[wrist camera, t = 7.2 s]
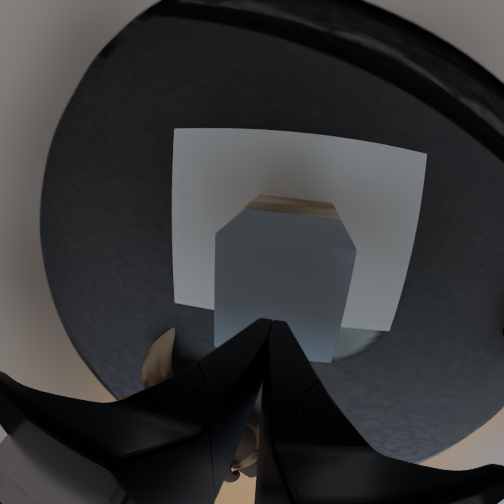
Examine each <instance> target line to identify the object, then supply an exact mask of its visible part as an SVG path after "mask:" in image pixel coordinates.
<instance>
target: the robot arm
mask: <svg viewBox="0 0 504 504" xmlns="http://www.w3.org/2000/svg"><path fill="white" fill-rule="evenodd" d="M503 335H504V331H503ZM262 381H263V384H262ZM261 385H262V397H261V414H260V431H259V447H258V462H257V476H256V491H255V504H497V503H499V502H500V501H501V500H503V499H504V466H502V465H496V464H489V465H485V466H482V467H479V468H475V469H470V470H463V471H453V470H452V471H451V470H442V469H437V468H432V467H427V466H422V465H418V464H414V463H409V462H405V461H401V460H397V459H394V458H390V457H387V456H384V455H382V454H380V453H378V452H377V451H375V450H374V449H373V448H372V447H371V446H370V445H369V444H368V443H367V442H366V441H365V439H364V438H363V437H362V436H361V435H360V433H359V432H358V431H357V430H356V429H355V427H354V426H353V425H352V424H351V423H350V421H349V420H348V419H347V418H346V417H345V415H344V414H343V413H342V412H341V410H340V409H339V408H338V406H337V405H336V404H335V402H334V401H333V399H332V398H331V396H330V395H329V393H328V392H327V390H326V388H325V387H324V385H323V383H322V382H321V380H320V378H319V377H318V375H317V373H316V371H315V370H314V368H313V366H312V365H311V363H310V361H309V360H308V358H307V356H306V354H305V353H304V351H303V349H302V348H301V346H300V344H299V342H298V341H297V339H296V337H295V336H294V334H293V332H292V330H291V329H290V327H289V325H288V324H287V322H286V321H282V320H273V323H272V320H271V319H267V318H259V319H257V320H256V321H254V322H253V323H252V324H250V325H249V326H247V327H246V328H245V329H243V330H242V331H240V332H239V333H237V334H236V335H235V336H233V337H232V338H230V339H229V340H227V341H226V342H224V343H223V344H221V345H220V346H219V347H217V348H216V349H214V350H213V351H211V352H210V353H208V354H207V355H205V356H204V357H202V358H201V359H199V360H198V361H197V362H195V363H193V364H191V365H190V366H188V367H187V368H185V369H184V370H182V371H180V372H179V373H177V374H175V375H173V376H171V377H170V378H168V379H166V380H164V381H162V382H160V383H158V384H155V385H153V386H151V387H149V388H147V389H145V390H142V391H140V392H138V393H136V394H133V395H131V396H129V397H127V398H124V399H122V400H119V401H115V402H109V403H99V402H92V401H86V400H80V399H75V398H70V397H65V396H60V395H55V394H51V393H47V392H43V391H39V390H36V389H32V388H30V387H27V386H24V385H22V384H20V383H18V382H16V381H15V380H13V379H12V378H11V377H9V376H8V375H7V374H5V373H4V372H1V371H0V425H1V426H2V427H3V429H4V430H5V431H6V433H7V434H8V435H7V437H5V439H4V440H3V441H2V442H1V443H0V504H214V502H215V499H216V497H217V495H218V493H219V491H220V488H221V486H222V484H223V481H224V479H225V477H226V474H227V472H228V470H229V467H230V465H231V463H232V460H233V458H234V455H235V453H236V450H237V448H238V446H239V443H240V441H241V438H242V436H243V433H244V430H245V428H246V425H247V423H248V420H249V418H250V415H251V412H252V410H253V407H254V404H255V402H256V399H257V396H258V394H259V391H260V388H261Z"/></svg>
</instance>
